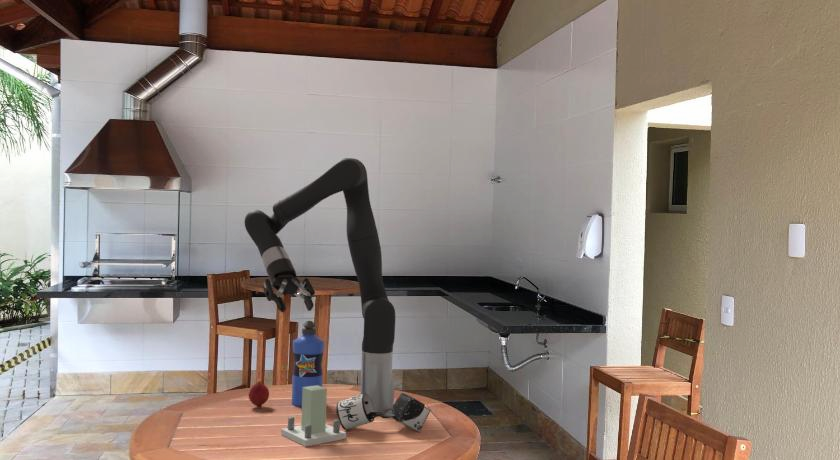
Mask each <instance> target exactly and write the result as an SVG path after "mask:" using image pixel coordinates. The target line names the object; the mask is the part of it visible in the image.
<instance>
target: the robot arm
mask: <svg viewBox="0 0 840 460" xmlns="http://www.w3.org/2000/svg"><path fill="white" fill-rule="evenodd" d="M368 180H369V179H368V172H367V168H366V167H365V165H364V163H363V162H362V161H361V160H359V159H358V158H357V159H356V158H352V157H346V158H341V159H338V161H337V162H336V163H335V164H333V165H332V166H331V167H330V168H329V169H328V170H326V171H325V172H324V173H323V174H322V175H320V176H318V177H317V178H316V179H314V180H313V181H311V182H310V183H308V184H306V185H304V186H303V187H301V188H299V189H297V190H295V191H293V192H292V193H290V194H288V195H286V196H285V197H283V198H281V199H279V200H278V201H276V202H275V203H274V204H273V205H272V212H273V214H272V215H270V216H269V215H268V214H266V213H265V212H264V211H262V210H260V209H259V210H258V209H253V210H250V211H249V212H248V213H247V214H246V216H245V217H244V227H245V230H246V232H247V234H248V235H249V237H250V238H251V240H252V242H253V243H254V245H255V246H256V247H257V250H258V252H259V255H260V257H261V259H262V263H263V266H264V269H265V271H266V273H267V276H268V278H266V279H265V280H264V282H263V284H262V288H263V291H264V295H265V297H266V300H267V301H268V302H271V301H273V302H274V303H275V304H276V307H277V310H278V311H280V313H285V311H286V309H287V306H286V303H285V300H284V298H283V297H282V295H283V296H289V295H290V296H293V295H294V296H295V297H297V298H300V299H301V300H303V303H304V305H305V307H306V309H307V311H308V312H311V311H312V310H313V308H314V301H313V300H312V299H313V297H314V295H315V294H316V292H315V289H314V287H313V286H312V284H311V282H310V280H309V278H307V277H305V278H304V279H301V280H300V279H299V278H298V277H297V272H296V269H295V267H294V265H293V263H292V261H291V258H290V256H289V254H288V253H287V251H286V249H285V247H284V245H283V243H282V240H281V238H280V237H279V236H278V233H280V232H281V230H283V228H285V226H287V225H288V223H289V222H292V221H293V220H295V219H297V218H299V217H300V216H302V215H303V214H305V213H307V212H308V211H310V210H312V208H314V207H315V206H316V205H318V204H319V203H321V202H323V200H325V199H327V198H329V197H331V196H334V195H335V194H338V193H340V192H343V197H344V200H345V205H346V239H347V244H348V249H349V253H350V257H351V262H352V266H353V269H354V271H355V274H356V278H357V282H358V285H359V293H360V302H361V303H360V304H361V315H362V318H363V338H362V342H361V367H360V369H361V371H360V394H359V395H361V394H364V393H365V394H367V395H368V396H369V398H370V400H371V402H372V405H373V409H374V412H382V413H384V412H389V411H391V409H392V408H393V405H394V403H395V376H394V375H393V355H394V354H393V352H394V343H395V333H396V332H395V331H396V309H395V306H394V305H393V303H392V302H390V300H389V298H388V294H387V291H386V288H385V284H384V281H383V280H384V279H383V260H382V259H383V258H382V248H381V247H382V246H381V243H380V237H379V233H378V229H377V223H376V220H375V215H374V212H373V209H372V205H371V200H370V193H369V181H368ZM273 288H274V289H275V291H276V293H275V292H274V289H273ZM298 290H299V292H298Z"/></svg>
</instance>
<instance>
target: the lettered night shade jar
mask: <svg viewBox="0 0 840 460" xmlns="http://www.w3.org/2000/svg"><path fill="white" fill-rule="evenodd" d="M360 394H361V393H360ZM360 394H359V395H356V396H352V397H350V398H347V399H346V398H345V399H344V400H340V401H338V402H337V403H336V415H337V420H340V426H341V428H342V429H343V430H344V431H348V430H351V429H352V430H353V429H355V428H357V427H361V426H363V425H367V424H370V423H373V422H374V421H375V419H376V418H378V417H381V418H382V419H389V418H392V419H393V420H394V421H396V422H398V423H400V424H402V425H403V426H405V427H407V428H409V429H411V430H413V431H415V432H417V433H418V434H419V433H420V431H421V430H422V428H423V426H424V424H425V423H426V421H427V418H428V417H429V415H430V413H431V412H432V410H431V409H429V408H428V407H426V406H425V404H424V403H423V402H421V401H420V400H418V399H416V398H414V397H412V396H410V395H408V394H406V393H403V392H401V393H400V395H399V397H398V398H397V399H395V401H394V405H393V408H392V409H390V410H388V411H384V412H374V409H373V405H372V402H371V400H370V398H369V396H368V395H367V394H365V393H364V394H361V395H360Z"/></svg>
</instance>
